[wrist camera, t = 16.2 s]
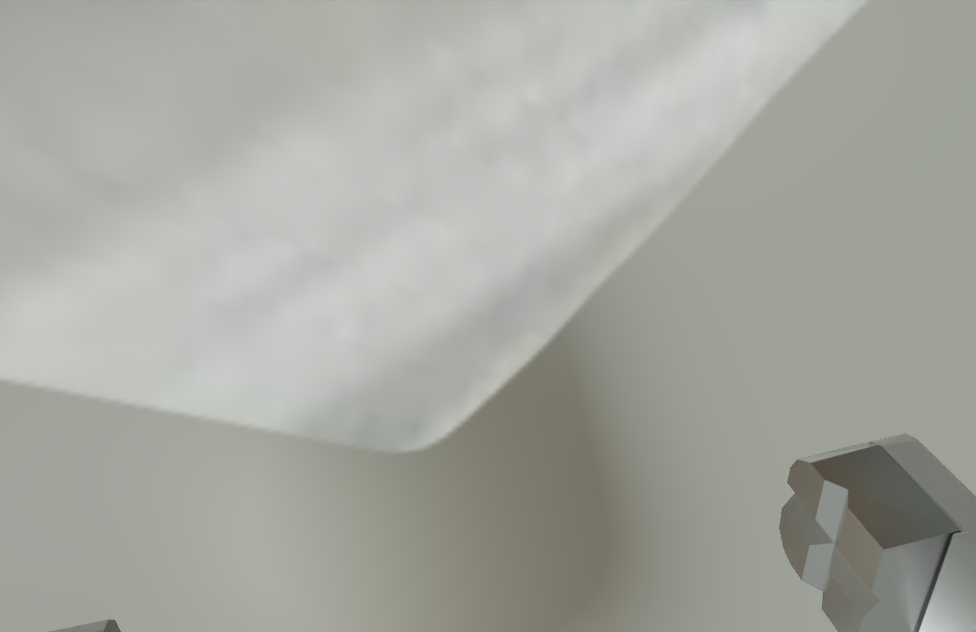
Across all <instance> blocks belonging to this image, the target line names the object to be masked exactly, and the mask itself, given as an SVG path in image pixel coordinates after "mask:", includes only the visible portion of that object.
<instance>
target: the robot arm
mask: <svg viewBox="0 0 976 632" xmlns="http://www.w3.org/2000/svg"><path fill="white" fill-rule="evenodd" d="M787 483H788V484H789V486H790V487H791V488H792V489H793V491H794V492H795V494H794V495H793V496H792V497H791V498H790V500H789V501H788V502H787V503H786V504H785V505H784V507H783V508H782V512H781V519H780V525H779V529H780V534H781V539H782V544H783V548H784V551H785V553H786V555H787V557H788V559H789V562H790V564H791V566H792V567H793V569H794V570H795V571H796V573H797V574H798V576H799V577H800V579H801V580H802V581H804V582H806V583H807V584H809V585H811V586H813V587H815V588H817V589H819V590H821V591H823V597H822V610H823V611H824V613H825V614H826V616H827V617H828V618H829V620H830V621H831V622H832V624H833V625H834V627H835V628H836V629H837V631H838V632H976V496H975V495H974V494H973V493H972V492H971V491H970V490H969V489H968V488H967V487H966V486H965V485H964V484H962V482H960V481H959V480H958V479H957V478H956V477H955V476H954V475H953V474H952V473H951V472H950V471H949V470H948V469H947V468H946V467H945V466H944V465H943V464H942V463H941V462H940V461H939V460H938V459H937V458H936V457H935V456H934V455H933V454H932V453H931V452H930V451H929V450H928V449H927V448H926V447H925V446H924V445H923V444H922V443H920V442H919V441H918V440H917V439H916V438H914V437H912V436H910V435H907V434H902V435H897V436H893V437H889V438H885V439H880V440H877V441H872V442H869V443H862V444H857V445H853V446H850V447H845V448H841V449H837V450H833V451H829V452H825V453H821V454H817V455H813V456H808V457H805V458H800V459H797V460H796V461H795V462H794V464H793V465H792V466H791V467H790V472H789V476H788V481H787ZM50 632H121V631H120V629H119V627H118V625H117V623H116V621H115V620H104V621H99V622H94V623H89V624H84V625H79V626H75V627H70V628H65V629H60V630H56V631H50Z"/></svg>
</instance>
